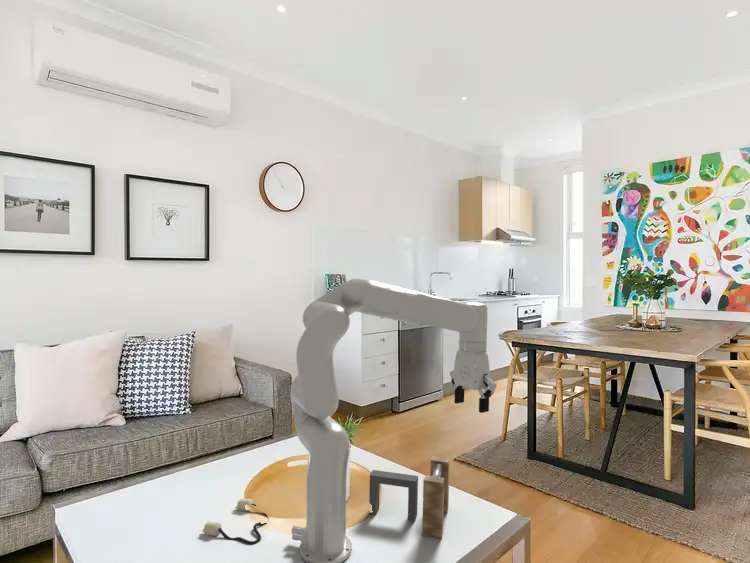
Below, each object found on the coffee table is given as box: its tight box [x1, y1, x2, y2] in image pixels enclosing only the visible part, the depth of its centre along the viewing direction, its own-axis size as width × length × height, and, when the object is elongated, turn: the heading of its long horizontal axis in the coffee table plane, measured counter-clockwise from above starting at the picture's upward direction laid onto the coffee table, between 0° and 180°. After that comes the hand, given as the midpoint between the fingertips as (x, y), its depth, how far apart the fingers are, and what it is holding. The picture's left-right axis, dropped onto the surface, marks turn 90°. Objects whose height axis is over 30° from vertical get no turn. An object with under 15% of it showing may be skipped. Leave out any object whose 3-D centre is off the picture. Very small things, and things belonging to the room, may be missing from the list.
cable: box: [202, 498, 263, 545], centre depth 124 cm, size 16×16×4 cm
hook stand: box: [421, 455, 451, 540], centre depth 127 cm, size 5×16×14 cm, turn 165°
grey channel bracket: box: [368, 469, 419, 522], centre depth 130 cm, size 13×4×11 cm, turn 75°
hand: (471, 407), depth 131 cm, fingers open, 9 cm apart
